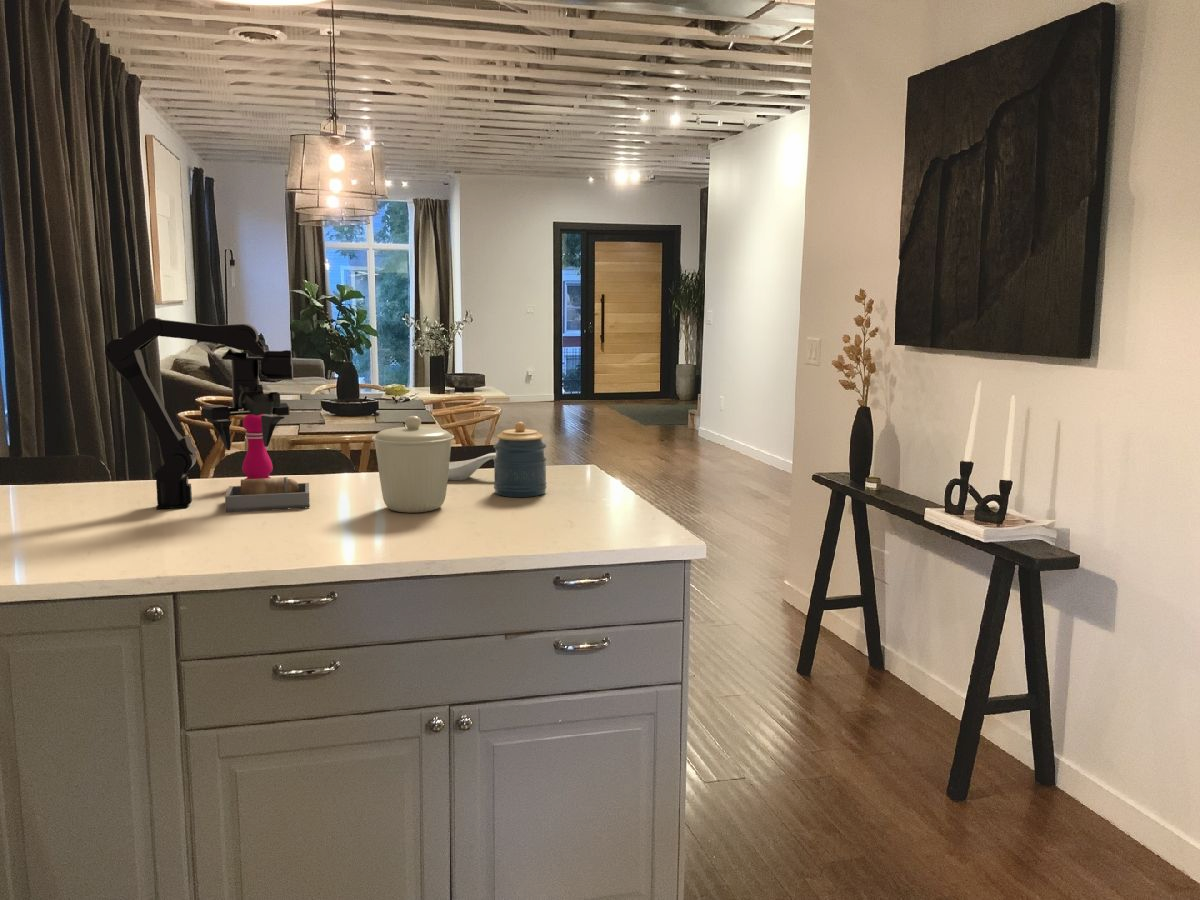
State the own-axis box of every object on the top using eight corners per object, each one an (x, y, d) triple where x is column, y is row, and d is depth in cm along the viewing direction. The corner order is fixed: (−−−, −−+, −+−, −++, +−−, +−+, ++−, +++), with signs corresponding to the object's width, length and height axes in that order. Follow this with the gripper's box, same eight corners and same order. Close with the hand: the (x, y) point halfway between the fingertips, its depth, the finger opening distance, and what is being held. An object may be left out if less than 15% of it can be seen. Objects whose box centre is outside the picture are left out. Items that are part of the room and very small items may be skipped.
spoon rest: (426, 482, 245) (426, 455, 244) (438, 474, 257) (438, 448, 256) (516, 484, 244) (516, 457, 242) (523, 476, 255) (523, 450, 254)
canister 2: (550, 488, 237) (550, 419, 235) (542, 498, 225) (542, 425, 222) (499, 487, 239) (499, 418, 236) (488, 497, 226) (488, 424, 223)
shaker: (240, 475, 214) (298, 472, 218) (241, 485, 218) (298, 482, 222) (240, 494, 212) (299, 491, 216) (242, 504, 216) (299, 501, 220)
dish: (225, 512, 206) (225, 496, 206) (230, 501, 218) (229, 486, 218) (309, 508, 211) (309, 492, 211) (309, 497, 223) (308, 482, 223)
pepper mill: (267, 488, 234) (263, 408, 231) (238, 487, 234) (234, 407, 231) (277, 482, 241) (274, 405, 238) (249, 482, 242) (246, 404, 239)
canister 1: (437, 519, 202) (436, 421, 199) (359, 514, 205) (356, 419, 202) (466, 502, 219) (465, 412, 216) (393, 498, 223) (391, 410, 220)
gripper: (223, 384, 200) (226, 456, 202) (302, 380, 214) (303, 448, 216) (198, 380, 207) (201, 450, 209) (276, 377, 221) (277, 443, 223)
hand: (247, 448), depth 214 cm, fingers open, 9 cm apart
